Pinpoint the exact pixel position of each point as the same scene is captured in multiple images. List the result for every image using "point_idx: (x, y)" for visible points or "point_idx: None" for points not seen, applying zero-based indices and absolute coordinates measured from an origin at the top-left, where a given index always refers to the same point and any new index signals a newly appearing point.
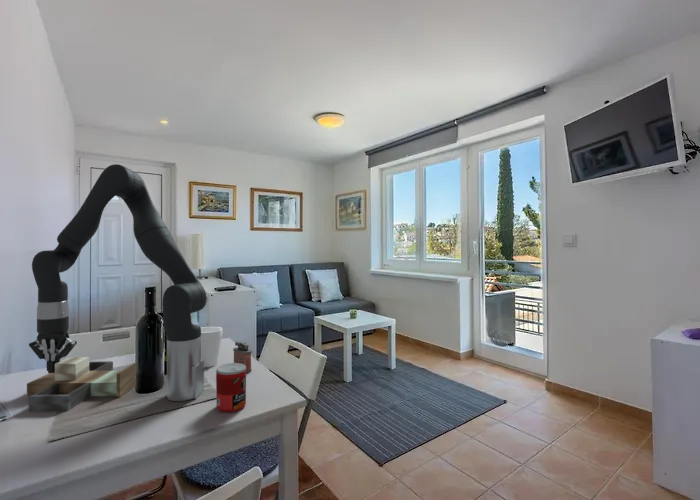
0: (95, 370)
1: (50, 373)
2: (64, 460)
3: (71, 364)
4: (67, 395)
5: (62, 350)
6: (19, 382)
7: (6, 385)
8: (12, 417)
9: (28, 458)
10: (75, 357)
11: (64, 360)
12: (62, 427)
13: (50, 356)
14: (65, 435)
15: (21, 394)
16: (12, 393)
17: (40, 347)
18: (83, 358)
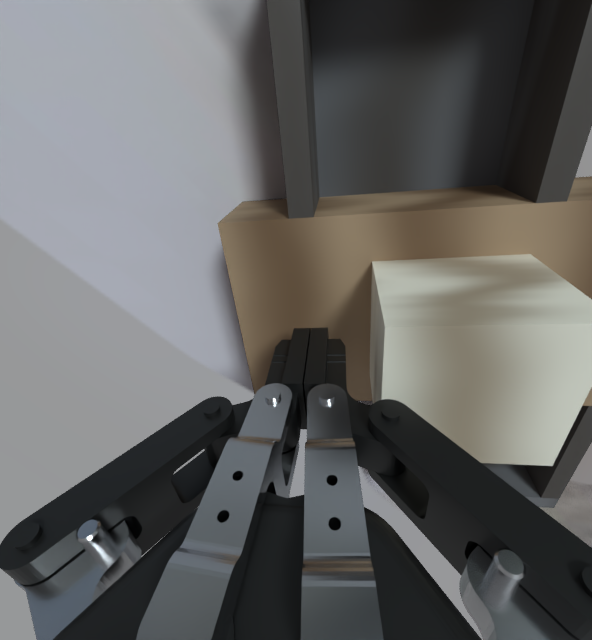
0: (562, 195)
1: (238, 267)
2: None
3: (512, 458)
4: (549, 504)
5: (435, 540)
6: (33, 189)
7: (25, 233)
8: (362, 469)
9: None
10: (454, 328)
11: (399, 400)
12: (559, 520)
13: (286, 445)
14: (588, 545)
15: (216, 329)
16: (166, 319)
17: (144, 512)
18: (566, 358)
